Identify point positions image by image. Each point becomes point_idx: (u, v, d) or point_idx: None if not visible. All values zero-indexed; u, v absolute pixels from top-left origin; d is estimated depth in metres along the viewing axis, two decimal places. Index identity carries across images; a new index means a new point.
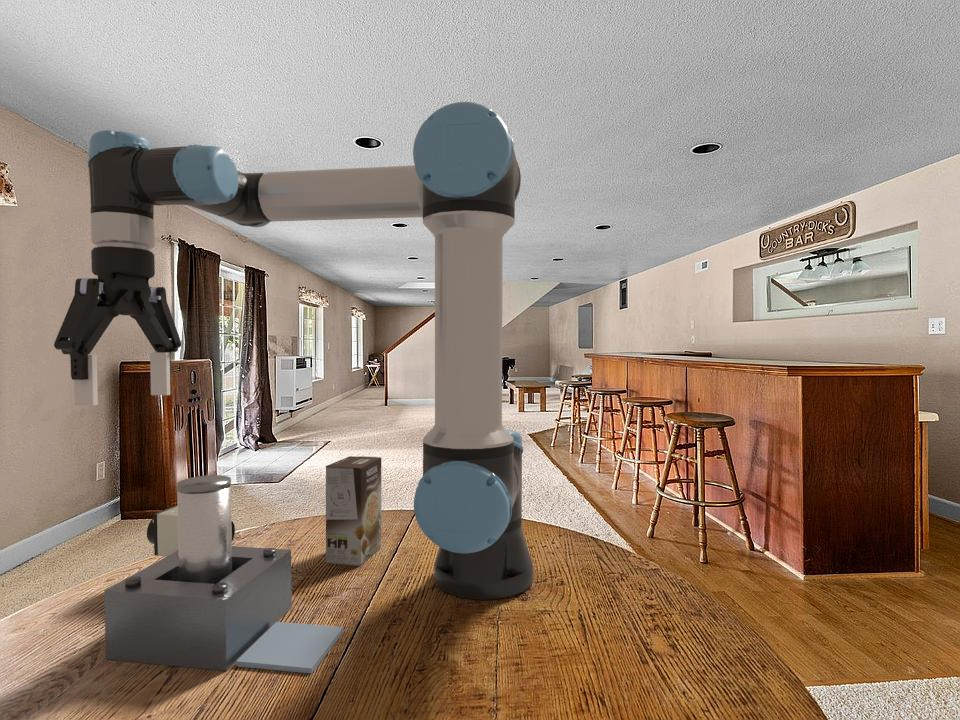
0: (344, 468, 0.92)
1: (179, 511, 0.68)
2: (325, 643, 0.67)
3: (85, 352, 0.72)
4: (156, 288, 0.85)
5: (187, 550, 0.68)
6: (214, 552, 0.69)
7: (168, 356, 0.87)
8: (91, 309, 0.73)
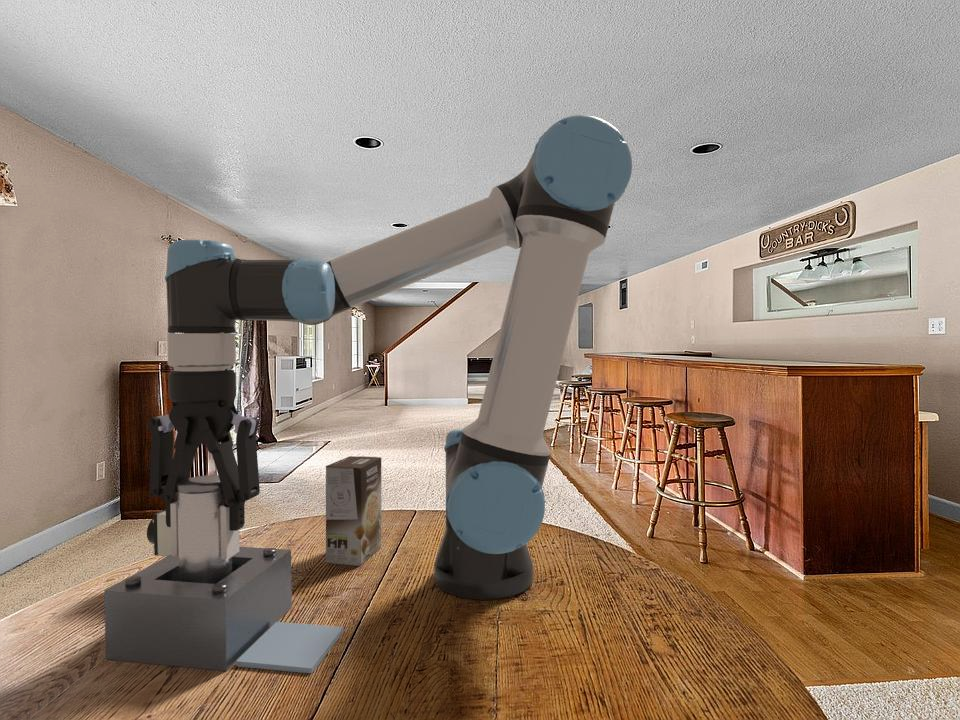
0: (344, 468, 0.92)
1: (179, 511, 0.68)
2: (325, 643, 0.67)
3: (166, 501, 0.70)
4: (245, 419, 0.69)
5: (187, 550, 0.68)
6: (215, 552, 0.69)
7: (223, 511, 0.69)
8: (157, 450, 0.70)
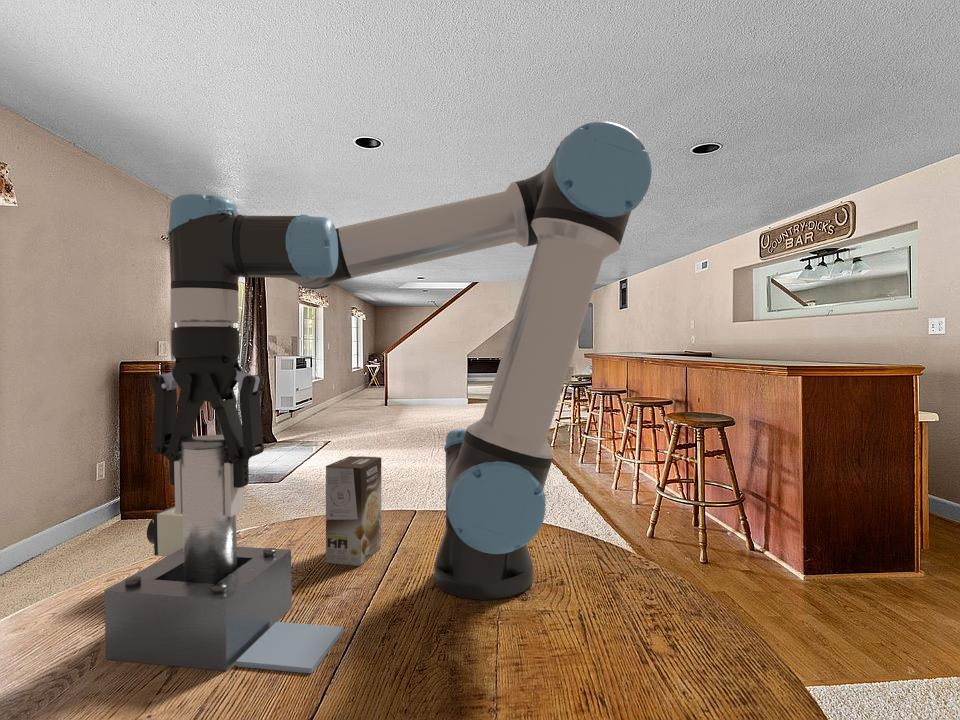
0: (344, 468, 0.92)
1: (183, 468, 0.68)
2: (325, 643, 0.67)
3: (169, 458, 0.70)
4: (248, 376, 0.69)
5: (192, 507, 0.68)
6: (219, 508, 0.68)
7: (227, 468, 0.68)
8: (160, 408, 0.70)
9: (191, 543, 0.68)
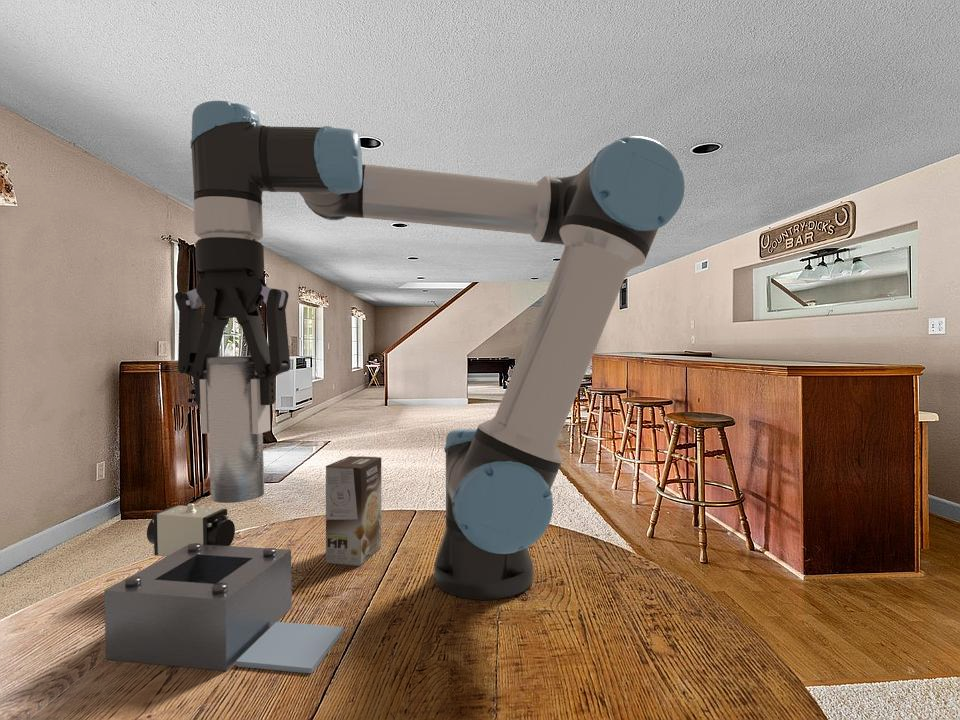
0: (344, 468, 0.92)
1: (209, 384, 0.67)
2: (325, 643, 0.67)
3: (195, 377, 0.68)
4: None
5: (218, 423, 0.66)
6: (246, 426, 0.67)
7: (254, 384, 0.67)
8: (185, 325, 0.68)
9: (218, 460, 0.66)
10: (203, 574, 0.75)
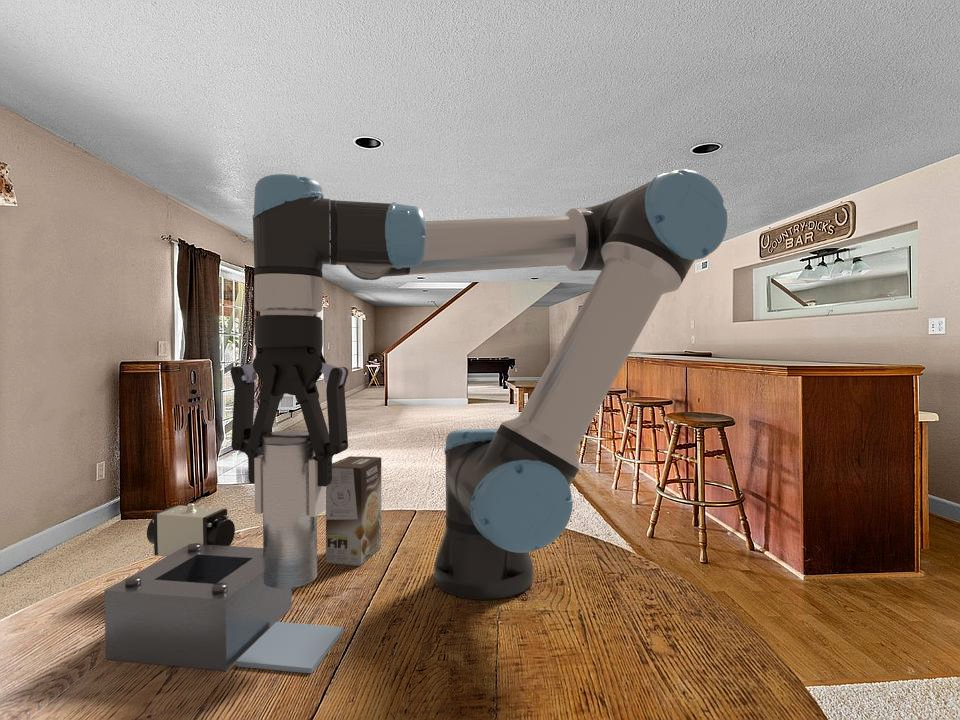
0: (344, 468, 0.92)
1: (265, 465, 0.64)
2: (325, 643, 0.67)
3: (249, 455, 0.66)
4: (335, 368, 0.65)
5: (275, 506, 0.64)
6: (303, 508, 0.65)
7: (312, 465, 0.65)
8: (240, 401, 0.66)
9: (274, 544, 0.64)
10: (203, 574, 0.75)
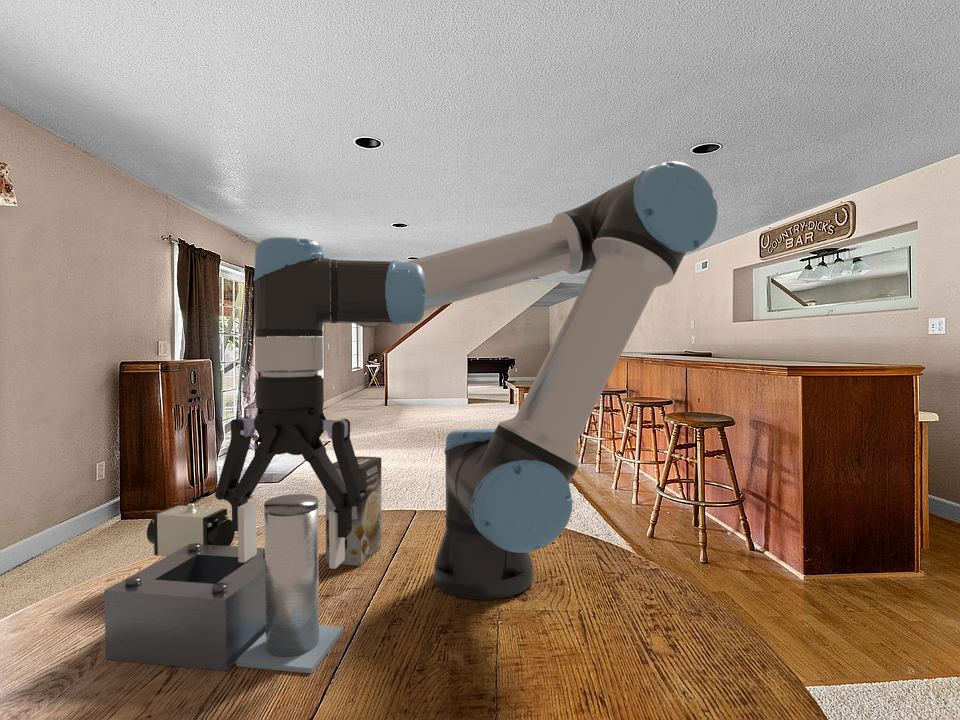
0: None
1: (267, 534, 0.64)
2: (325, 643, 0.67)
3: (232, 504, 0.67)
4: (336, 422, 0.65)
5: (277, 576, 0.64)
6: (305, 577, 0.65)
7: (332, 517, 0.65)
8: (233, 454, 0.66)
9: (276, 613, 0.64)
10: (203, 574, 0.75)
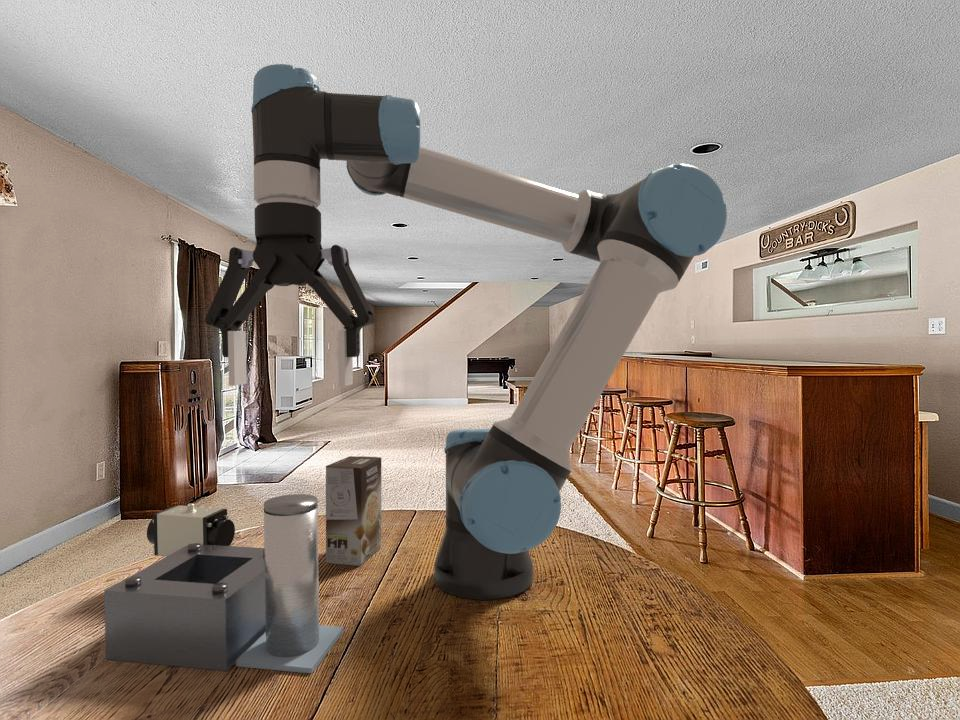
0: (344, 468, 0.92)
1: (267, 534, 0.64)
2: (325, 643, 0.67)
3: (221, 328, 0.68)
4: None
5: (277, 576, 0.64)
6: (304, 577, 0.65)
7: (341, 335, 0.66)
8: (229, 281, 0.67)
9: (276, 613, 0.64)
10: (203, 574, 0.75)
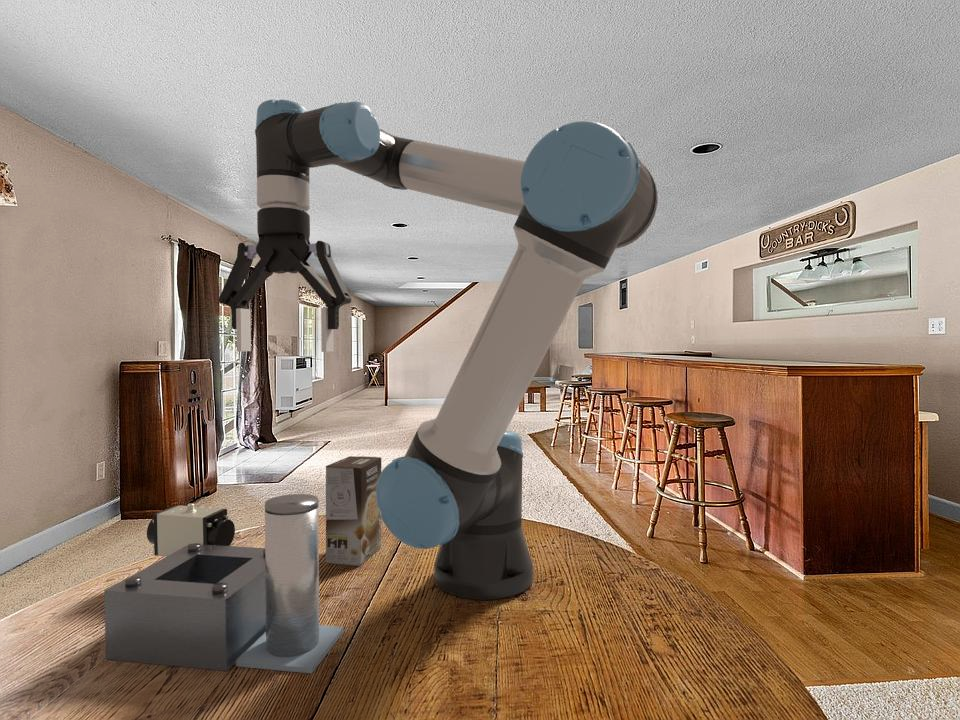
0: (344, 468, 0.92)
1: (268, 533, 0.65)
2: (325, 643, 0.67)
3: (231, 306, 0.86)
4: None
5: (277, 575, 0.64)
6: (305, 576, 0.65)
7: (324, 311, 0.84)
8: (237, 269, 0.86)
9: (276, 613, 0.64)
10: (203, 574, 0.75)
